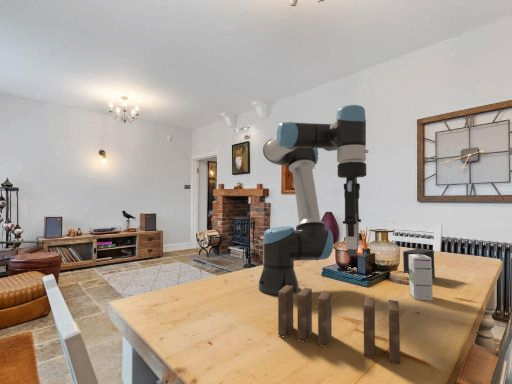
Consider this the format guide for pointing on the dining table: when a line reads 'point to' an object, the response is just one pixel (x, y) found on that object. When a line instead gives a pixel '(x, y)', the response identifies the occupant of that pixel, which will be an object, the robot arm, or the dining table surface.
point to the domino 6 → (394, 332)
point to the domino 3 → (324, 318)
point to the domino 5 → (369, 327)
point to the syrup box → (420, 277)
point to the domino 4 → (353, 251)
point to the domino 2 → (304, 314)
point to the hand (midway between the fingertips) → (352, 246)
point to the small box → (418, 251)
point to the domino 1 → (285, 310)
